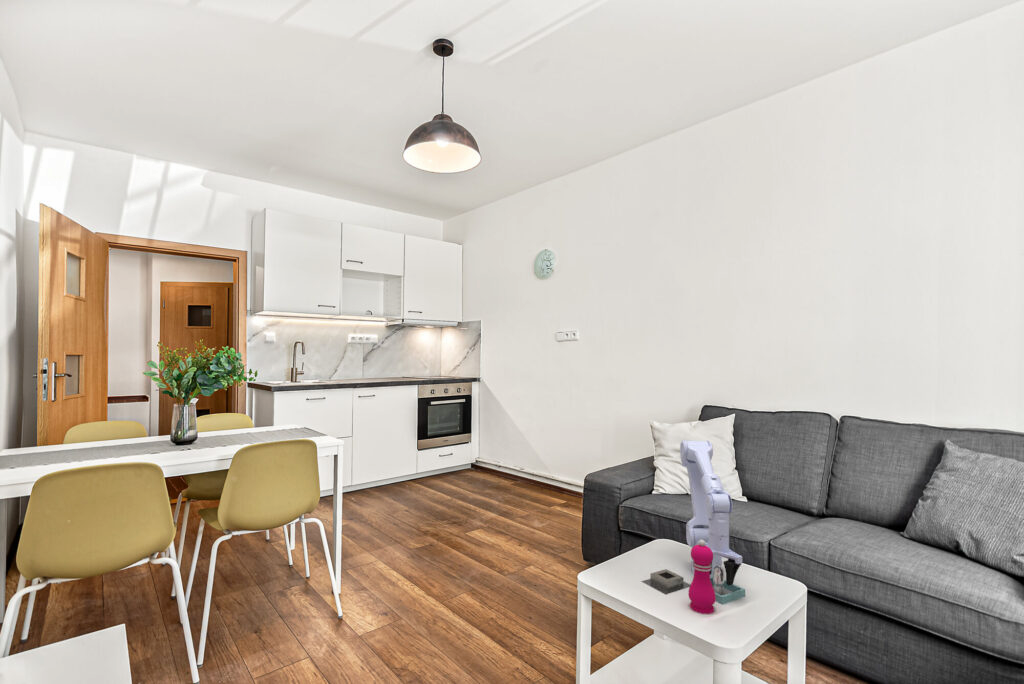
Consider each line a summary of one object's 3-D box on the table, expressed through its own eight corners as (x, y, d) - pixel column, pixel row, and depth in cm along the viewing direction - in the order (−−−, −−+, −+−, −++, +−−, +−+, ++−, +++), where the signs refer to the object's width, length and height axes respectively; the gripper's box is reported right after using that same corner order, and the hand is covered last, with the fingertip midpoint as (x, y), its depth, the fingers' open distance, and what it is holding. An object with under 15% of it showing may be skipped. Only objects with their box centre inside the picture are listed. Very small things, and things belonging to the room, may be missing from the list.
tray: (715, 585, 157) (715, 576, 157) (745, 599, 148) (745, 589, 148) (692, 593, 152) (692, 583, 152) (722, 607, 143) (722, 597, 143)
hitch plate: (668, 576, 163) (668, 565, 163) (692, 589, 154) (692, 577, 154) (641, 584, 157) (641, 573, 157) (665, 597, 148) (665, 585, 148)
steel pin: (717, 590, 152) (718, 563, 152) (725, 595, 149) (726, 567, 149) (710, 592, 150) (711, 564, 150) (718, 597, 148) (719, 569, 148)
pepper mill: (701, 620, 136) (701, 546, 136) (682, 608, 142) (682, 537, 143) (721, 615, 138) (721, 542, 139) (702, 603, 145) (702, 534, 146)
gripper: (690, 528, 155) (690, 572, 154) (731, 543, 142) (731, 592, 142) (705, 525, 158) (705, 568, 158) (746, 539, 146) (747, 586, 145)
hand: (718, 579), depth 150 cm, fingers open, 7 cm apart
